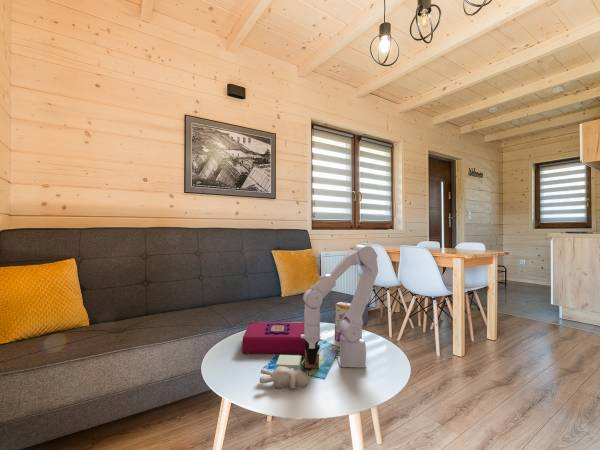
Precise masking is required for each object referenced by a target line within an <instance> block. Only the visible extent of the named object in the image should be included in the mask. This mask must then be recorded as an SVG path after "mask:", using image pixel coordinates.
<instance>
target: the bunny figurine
mask: <svg viewBox="0 0 600 450" xmlns="http://www.w3.org/2000/svg"><path fill="white" fill-rule="evenodd" d="M260 374H263V375H267V376H260V377H259V384H263V385H264V384H268V383H273V385H274V386H275V387H276V388H277V389H287V388H290V389H291V390H295V389H302V388H303V387H305V386H308V382H309V379H308V375H307V373H305V372H304V371H303V370H301V369H300V370H294V369H293V368H291V369H289V368H288V367H283V366H279V367H277V368H276V367H275V369H274V370H273V371H272V370H270V369H267V368H261V369H260Z"/></svg>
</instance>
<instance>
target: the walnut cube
mask: <svg viewBox="0 0 600 450" xmlns="http://www.w3.org/2000/svg"><path fill="white" fill-rule="evenodd" d="M319 351H320V349H319V350H318V353H317V357H316V362H315V365H309V363H308V357H307V353H306V350H305V354H304V369H320V367H319V366H320V352H319Z"/></svg>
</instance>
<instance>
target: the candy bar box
mask: <svg viewBox="0 0 600 450" xmlns="http://www.w3.org/2000/svg"><path fill="white" fill-rule="evenodd" d="M350 305H351V302H350V303H349V302H342V301H339V302H336V303H335V304H334V340H335V341H338V342H340V335H341V332H340V330H339V328H338V324H339V321H340V320H341V319H342V318H343V317H344V314H345V313H346V312H347V311H348V310H349V308H350ZM362 337H363V336H361V338H360V339H363V338H362Z"/></svg>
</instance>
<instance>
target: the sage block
mask: <svg viewBox="0 0 600 450" xmlns="http://www.w3.org/2000/svg"><path fill="white" fill-rule="evenodd" d="M278 355H279V356H278V358H277V361H276V364H275V369H276V368H277V367H279V366H283V367H288V368H289V369H291V368H293V369H294V370H301V368H302V355H298V354H297V355H296V354H294V355H293V354H278Z"/></svg>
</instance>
